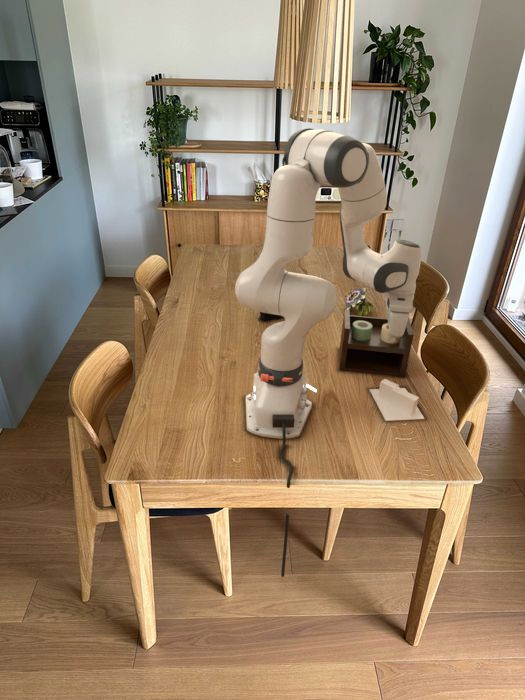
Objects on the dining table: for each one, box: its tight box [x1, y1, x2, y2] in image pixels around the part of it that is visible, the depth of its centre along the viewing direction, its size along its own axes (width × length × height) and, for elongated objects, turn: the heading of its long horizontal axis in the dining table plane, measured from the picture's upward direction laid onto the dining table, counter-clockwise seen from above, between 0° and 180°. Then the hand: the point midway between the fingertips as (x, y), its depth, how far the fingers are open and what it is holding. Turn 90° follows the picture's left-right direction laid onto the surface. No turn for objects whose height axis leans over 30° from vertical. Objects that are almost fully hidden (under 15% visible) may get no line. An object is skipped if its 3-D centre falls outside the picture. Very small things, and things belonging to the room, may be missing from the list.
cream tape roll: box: [380, 323, 401, 344], centre depth 154 cm, size 6×6×4 cm
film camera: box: [259, 312, 285, 322], centre depth 187 cm, size 15×10×9 cm, turn 115°
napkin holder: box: [368, 378, 425, 422], centre depth 141 cm, size 15×11×6 cm
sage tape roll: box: [351, 321, 372, 341], centre depth 155 cm, size 6×6×4 cm
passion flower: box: [345, 287, 377, 317], centre depth 192 cm, size 11×11×12 cm
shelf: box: [338, 309, 415, 378], centre depth 158 cm, size 14×20×15 cm
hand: (390, 335), depth 154 cm, fingers closed on cream tape roll, 6 cm apart
